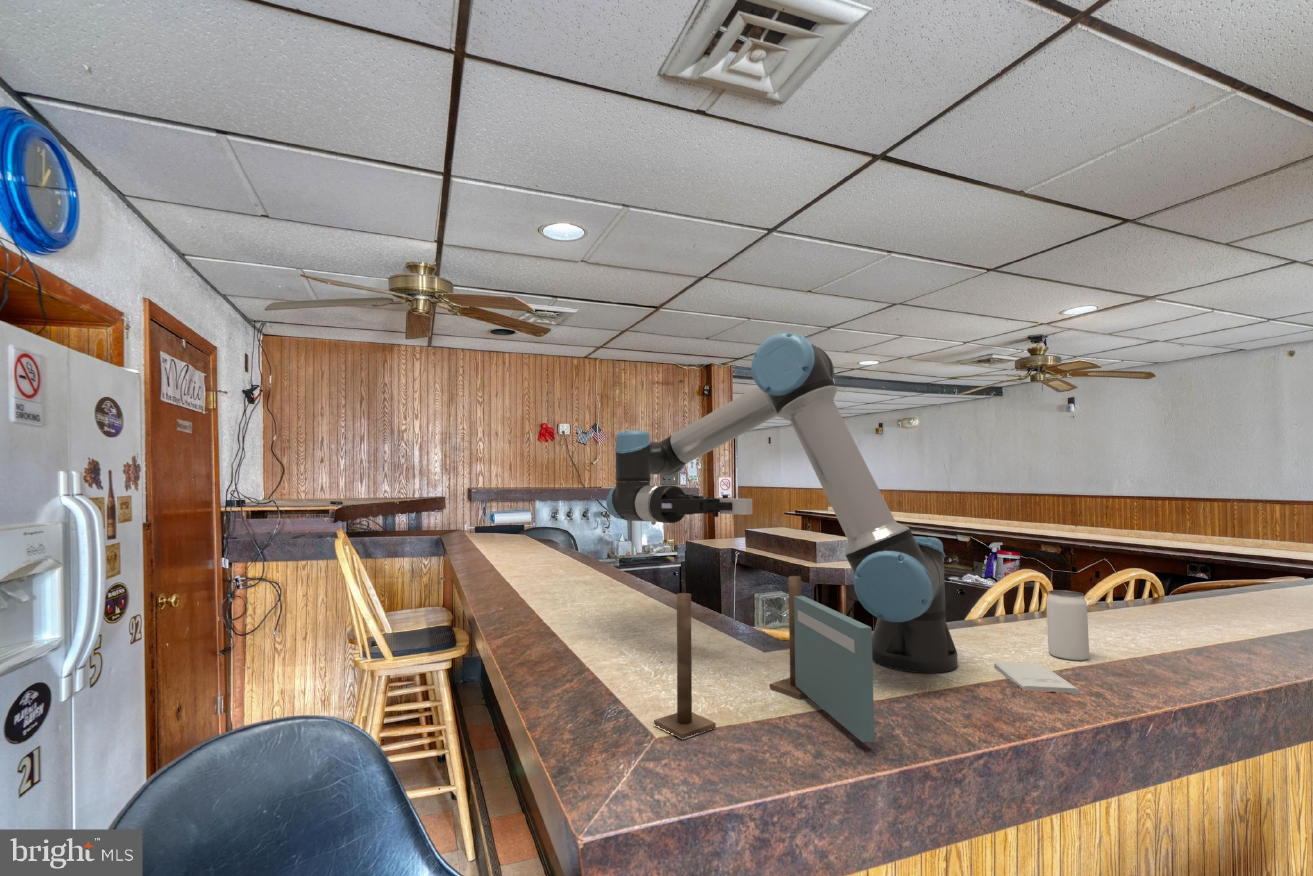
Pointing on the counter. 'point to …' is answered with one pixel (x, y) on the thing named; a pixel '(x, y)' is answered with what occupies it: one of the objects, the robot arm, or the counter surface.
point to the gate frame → (685, 719)
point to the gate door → (835, 665)
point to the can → (1067, 625)
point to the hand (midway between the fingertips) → (749, 506)
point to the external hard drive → (1034, 677)
